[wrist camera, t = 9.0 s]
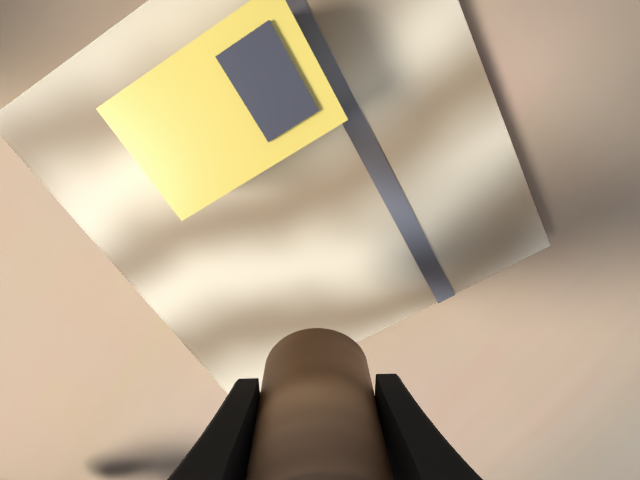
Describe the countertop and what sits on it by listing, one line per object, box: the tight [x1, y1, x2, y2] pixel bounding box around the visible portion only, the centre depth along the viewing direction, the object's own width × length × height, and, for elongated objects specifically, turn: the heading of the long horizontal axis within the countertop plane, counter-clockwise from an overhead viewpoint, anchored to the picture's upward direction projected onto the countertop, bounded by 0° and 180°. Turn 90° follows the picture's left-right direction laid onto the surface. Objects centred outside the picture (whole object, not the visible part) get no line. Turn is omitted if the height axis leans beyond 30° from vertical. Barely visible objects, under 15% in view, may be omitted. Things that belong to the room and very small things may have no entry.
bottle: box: [246, 328, 394, 480], centre depth 10 cm, size 4×4×6 cm
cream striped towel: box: [0, 0, 550, 394], centre depth 18 cm, size 19×20×1 cm
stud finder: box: [96, 0, 348, 221], centre depth 14 cm, size 4×7×5 cm, turn 120°
